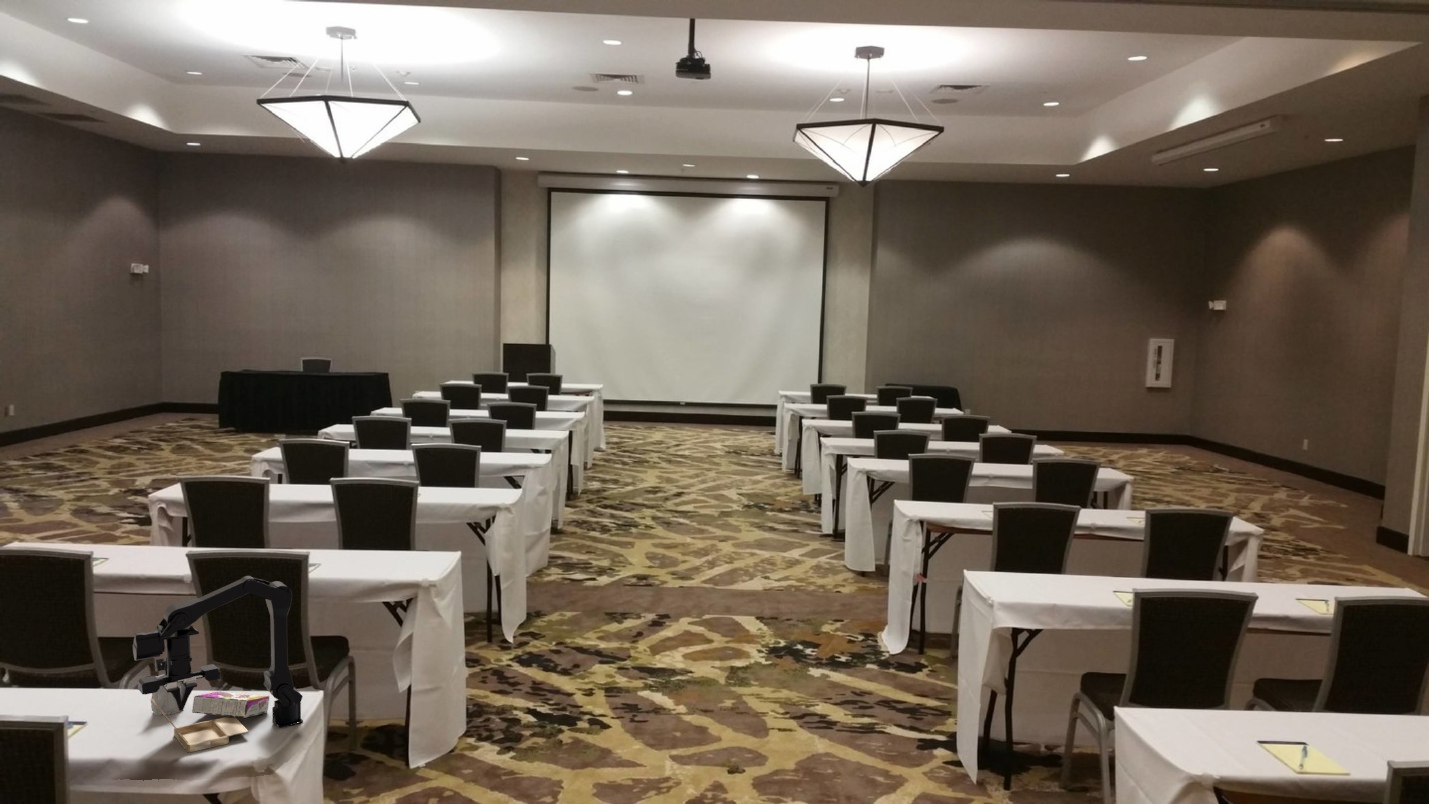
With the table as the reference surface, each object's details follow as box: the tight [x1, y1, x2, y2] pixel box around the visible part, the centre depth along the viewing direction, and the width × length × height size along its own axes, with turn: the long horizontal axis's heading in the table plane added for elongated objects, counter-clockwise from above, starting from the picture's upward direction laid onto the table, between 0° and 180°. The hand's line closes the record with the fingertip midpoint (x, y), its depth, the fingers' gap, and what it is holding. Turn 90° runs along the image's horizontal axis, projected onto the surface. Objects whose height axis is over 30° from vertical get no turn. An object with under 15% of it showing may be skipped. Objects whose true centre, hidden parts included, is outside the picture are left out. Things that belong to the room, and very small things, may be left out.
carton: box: [173, 716, 249, 753], centre depth 277 cm, size 15×15×2 cm
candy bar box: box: [191, 691, 270, 719], centre depth 291 cm, size 11×5×16 cm
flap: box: [150, 697, 188, 743], centre depth 270 cm, size 1×12×11 cm
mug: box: [150, 674, 181, 716], centre depth 292 cm, size 8×12×12 cm, turn 177°
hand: (180, 710), depth 272 cm, fingers closed
